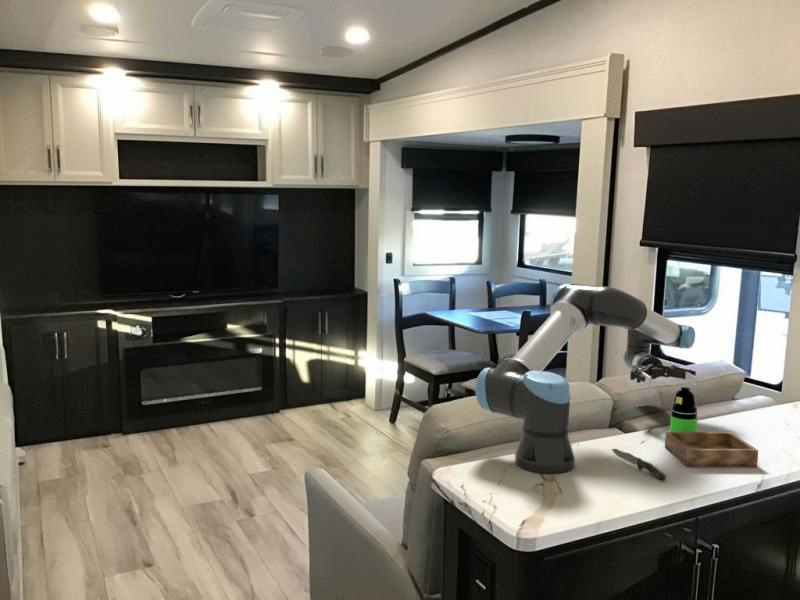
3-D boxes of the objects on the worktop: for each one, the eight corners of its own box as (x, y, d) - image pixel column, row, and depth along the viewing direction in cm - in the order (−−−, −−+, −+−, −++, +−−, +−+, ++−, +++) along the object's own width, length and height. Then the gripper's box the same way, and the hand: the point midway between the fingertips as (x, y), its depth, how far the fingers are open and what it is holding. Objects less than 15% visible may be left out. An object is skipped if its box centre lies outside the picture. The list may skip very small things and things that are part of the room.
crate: (686, 467, 178) (687, 450, 178) (664, 447, 193) (665, 432, 192) (757, 467, 178) (758, 450, 177) (729, 447, 193) (730, 432, 192)
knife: (609, 455, 187) (609, 445, 186) (613, 455, 187) (613, 444, 187) (663, 482, 168) (663, 470, 168) (667, 482, 168) (668, 470, 168)
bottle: (677, 433, 205) (679, 384, 204) (701, 439, 200) (703, 388, 198) (664, 438, 201) (666, 388, 199) (688, 445, 195) (691, 393, 193)
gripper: (685, 376, 230) (713, 393, 209) (609, 377, 230) (630, 394, 209) (686, 354, 229) (714, 368, 208) (610, 355, 229) (631, 369, 208)
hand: (672, 381), depth 209 cm, fingers open, 13 cm apart
